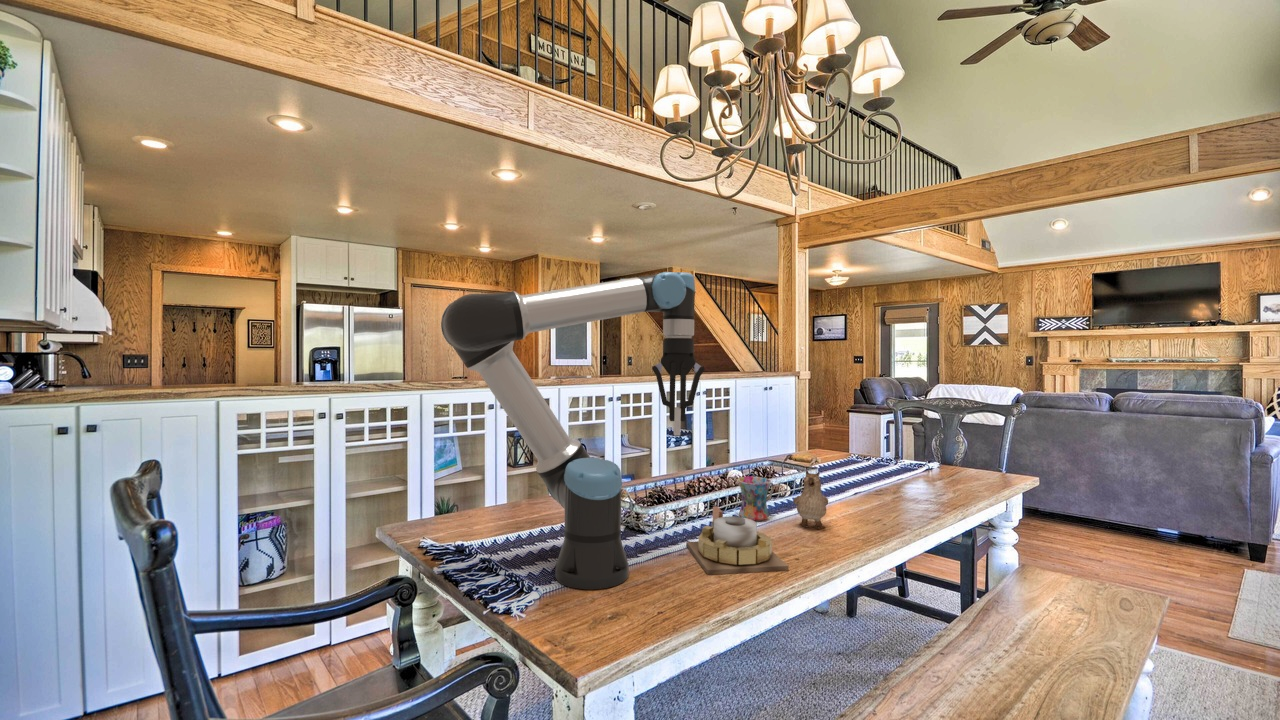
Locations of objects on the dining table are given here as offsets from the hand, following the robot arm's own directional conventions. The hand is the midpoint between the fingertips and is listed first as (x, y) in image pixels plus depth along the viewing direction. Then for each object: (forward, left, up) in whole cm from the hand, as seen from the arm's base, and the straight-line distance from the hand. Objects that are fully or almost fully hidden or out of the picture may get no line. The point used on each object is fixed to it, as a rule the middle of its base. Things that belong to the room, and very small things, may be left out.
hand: (676, 434), depth 145 cm
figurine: (+39, +8, -27) cm, 48 cm away
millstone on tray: (+11, -8, -25) cm, 29 cm away
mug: (+28, +18, -27) cm, 43 cm away
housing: (+11, -12, -26) cm, 31 cm away
